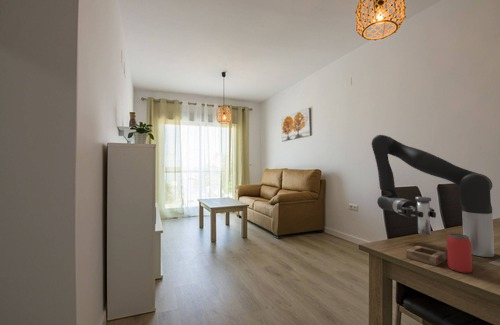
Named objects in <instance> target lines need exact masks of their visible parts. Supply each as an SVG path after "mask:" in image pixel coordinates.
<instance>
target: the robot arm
mask: <svg viewBox="0 0 500 325" xmlns="http://www.w3.org/2000/svg"><path fill="white" fill-rule="evenodd" d="M371 147H372V151H373V155H374V158H375V163H376V167H377V173H378V174H377V175H378V181H379V183H378V184H379V189H380V191H382V192H387V193H388V194H389V195H381V196H379V197H378V198H377V205H378V207H379V208H380V209H381V210H384V211H392V212H395V213H397V214H399V215H401V216H403V217H406V218H408V219H409V218H415V217H417V218H418V217H420V218H422V217H423V212H421V211H418V210H417V201H416V202H415V200H411V199H406V198H400V196H399V194H398V191H397V190H396V185H395V176H394V172H393V169H392V167H391V164H390V160H389V155H391V156H393V157H395V158H398V159H399V160H401V161H403V162H404V163H406V164H407V165H408V166H410V167H412V168H413V169H415V170H417V171H420V172H422V173H424V174H427V175H430V176H432V177H435V178H440V179H443V180H446V181H448V182H451V183H453V184H455V185H457V186H459V196H460V197H459V198H460V199H459V200H460V205H461V213H462V214H461V215H462V235H466V236H468V237H469V239H470V241H471V248H472V256H473V255H474V256H477V257H485V258H491V257H492V258H493V257H494V256H495V242H494V240H495V239H494V220H493V219H494V218H493V206H492V202H491V199H492V198H491V190H492V189H493V182H492V180H491V178H489V176H487V175H485V174H483V173H478V172H475V171H472V170H468V169H465V168H463V167H459V166H457V165H455V164H454V163H451V162H450V161H447V160H446V159H443V158H442V157H439V156H436V155H434V154H432V153H430V152H428V151H425V150H422V149H419V148H416V147H413V146H408V145H406V144H404V143H401V142H400V141H397V140H396V139H394V138H393V137H391V136H388V135H385V134H377V135H375V136H374V137H373V138H372V140H371ZM436 217H437V213H436V211H435V209H434V208H433V207H430V218H436Z"/></svg>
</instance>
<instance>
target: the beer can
mask: <svg viewBox="0 0 500 325" xmlns="http://www.w3.org/2000/svg"><path fill="white" fill-rule="evenodd" d="M447 236H448V237H447V239H446V260H447V267H448V268H449V269H450V270H451V271H455V272H458V273H463V274H468V273H472V272H473V255H472V248H471V241H470V239H469V237H468V236H466V235H463V233H462V234H461V233H448V235H447Z"/></svg>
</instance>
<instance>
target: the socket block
mask: <svg viewBox="0 0 500 325" xmlns="http://www.w3.org/2000/svg"><path fill="white" fill-rule="evenodd" d="M405 254H406V257H405V258H406V259H409V260H412V261H413V260H414V261H417V262H421V263H424V264H428V265H430V266H435V267H437V266H439V265H440V264H442V263H444V262H445V261H446V260H447V251H443V250H440V249H439V250H438V249H435V248H434V249H433V248H430V247H426V246H421V245H415V246H413V247H411V248H409V249H406V250H405Z"/></svg>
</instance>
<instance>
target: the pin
mask: <svg viewBox="0 0 500 325" xmlns="http://www.w3.org/2000/svg"><path fill="white" fill-rule="evenodd" d="M414 201H416V203H417V210H418V211H421V212H423V217H422V218H420V217H417V233H418V234H419V235H425V236H431V233H432V232H431V217H430V208H431V207H430V202H431V201H432V198H431V197H429V196H415V198H414Z"/></svg>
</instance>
